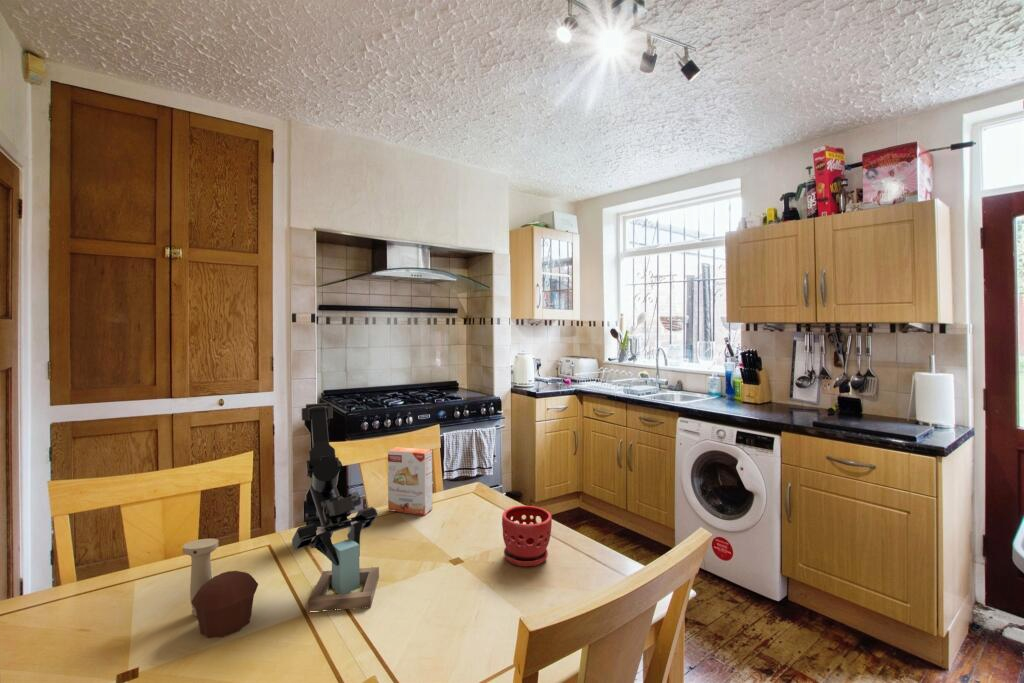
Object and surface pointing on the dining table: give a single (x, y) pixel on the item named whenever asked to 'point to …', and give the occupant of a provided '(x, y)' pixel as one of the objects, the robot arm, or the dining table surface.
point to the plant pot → (526, 535)
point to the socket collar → (346, 600)
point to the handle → (199, 563)
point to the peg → (346, 567)
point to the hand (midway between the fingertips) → (348, 561)
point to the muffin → (225, 603)
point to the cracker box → (410, 480)
